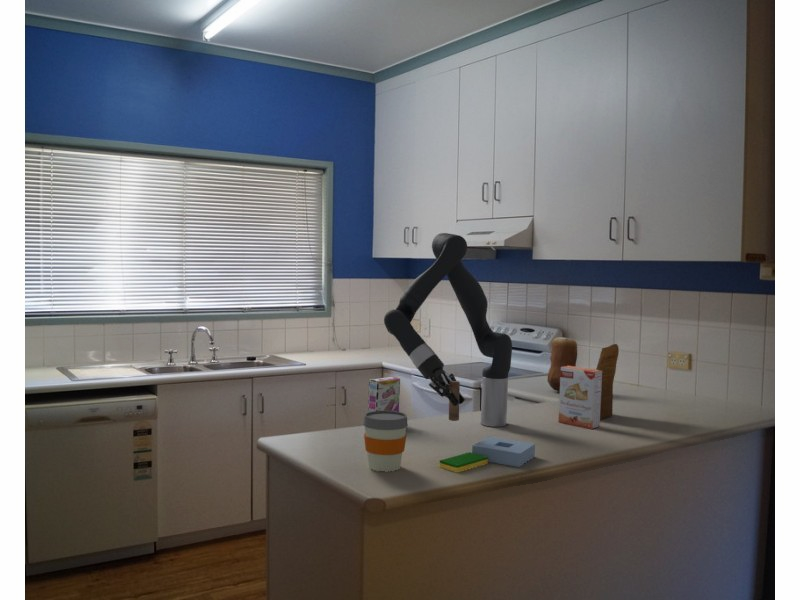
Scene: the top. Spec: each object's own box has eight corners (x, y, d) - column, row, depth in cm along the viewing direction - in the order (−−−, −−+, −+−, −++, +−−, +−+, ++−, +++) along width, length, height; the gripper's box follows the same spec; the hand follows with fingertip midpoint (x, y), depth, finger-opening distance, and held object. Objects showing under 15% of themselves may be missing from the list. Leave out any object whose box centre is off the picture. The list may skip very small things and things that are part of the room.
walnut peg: (451, 417, 231) (452, 380, 230) (460, 419, 230) (461, 381, 229) (446, 419, 228) (447, 382, 227) (456, 421, 227) (456, 383, 226)
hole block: (488, 449, 229) (489, 436, 229) (534, 456, 222) (535, 443, 221) (471, 458, 218) (472, 445, 218) (519, 467, 210) (519, 453, 210)
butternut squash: (578, 390, 334) (580, 336, 333) (578, 396, 321) (580, 339, 320) (547, 388, 337) (549, 335, 336) (546, 393, 324) (548, 338, 323)
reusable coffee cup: (370, 459, 215) (371, 408, 214) (411, 463, 211) (413, 412, 210) (356, 470, 203) (357, 417, 202) (399, 476, 199) (400, 421, 198)
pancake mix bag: (621, 415, 284) (625, 344, 282) (599, 422, 270) (602, 347, 268) (605, 412, 289) (608, 342, 287) (582, 419, 275) (585, 346, 273)
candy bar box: (376, 428, 253) (377, 381, 251) (366, 425, 256) (368, 379, 255) (399, 423, 260) (400, 378, 259) (389, 421, 264) (391, 376, 263)
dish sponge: (438, 468, 208) (438, 460, 208) (469, 459, 218) (469, 451, 218) (457, 474, 203) (457, 465, 203) (488, 465, 213) (488, 456, 213)
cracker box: (557, 422, 268) (559, 366, 267) (565, 420, 273) (568, 365, 271) (592, 429, 259) (594, 371, 258) (600, 427, 263) (602, 369, 262)
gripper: (423, 356, 225) (458, 400, 220) (443, 350, 237) (477, 392, 232) (408, 371, 228) (442, 415, 223) (429, 365, 240) (462, 406, 235)
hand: (460, 403), depth 228 cm, fingers closed on walnut peg, 3 cm apart
